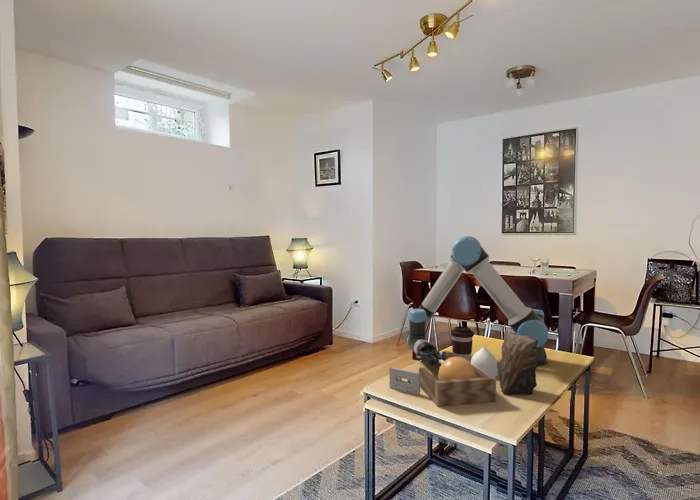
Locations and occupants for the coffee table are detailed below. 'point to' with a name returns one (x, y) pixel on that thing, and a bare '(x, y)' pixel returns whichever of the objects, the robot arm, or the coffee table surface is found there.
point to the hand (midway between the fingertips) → (447, 368)
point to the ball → (456, 369)
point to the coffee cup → (462, 342)
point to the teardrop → (485, 362)
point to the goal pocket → (458, 389)
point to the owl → (518, 365)
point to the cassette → (407, 385)
